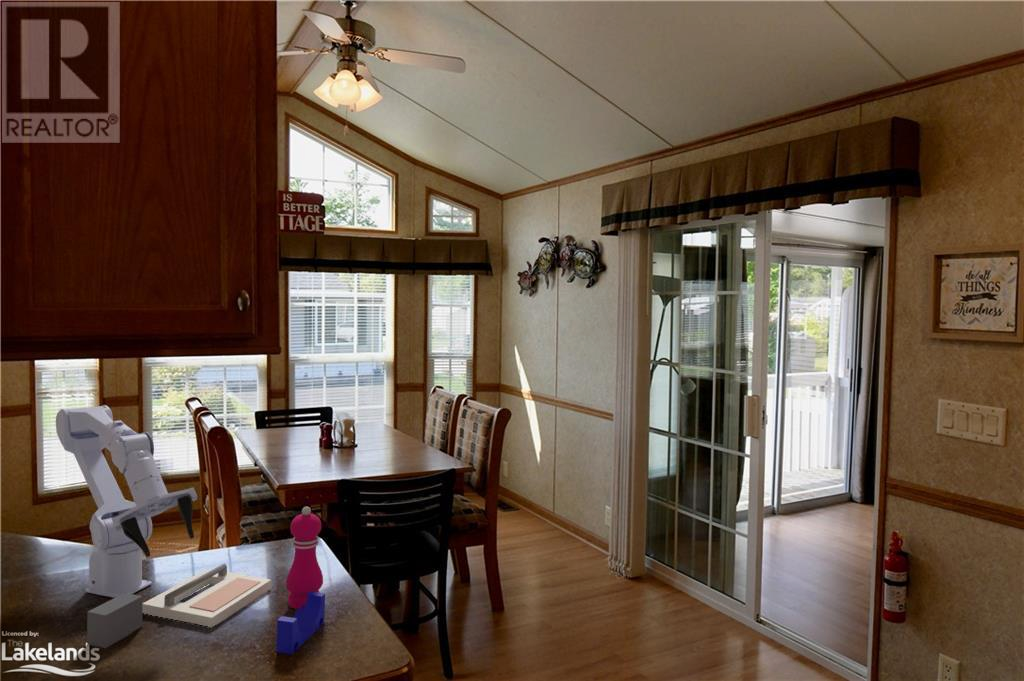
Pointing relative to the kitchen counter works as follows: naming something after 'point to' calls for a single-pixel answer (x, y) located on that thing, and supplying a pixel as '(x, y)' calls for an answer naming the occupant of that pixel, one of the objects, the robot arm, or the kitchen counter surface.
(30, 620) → the kitchen counter surface
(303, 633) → the cable clip
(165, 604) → the cream flat slotted block
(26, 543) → the kitchen counter surface
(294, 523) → the pepper mill
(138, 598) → the gray block
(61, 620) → the kitchen counter surface
